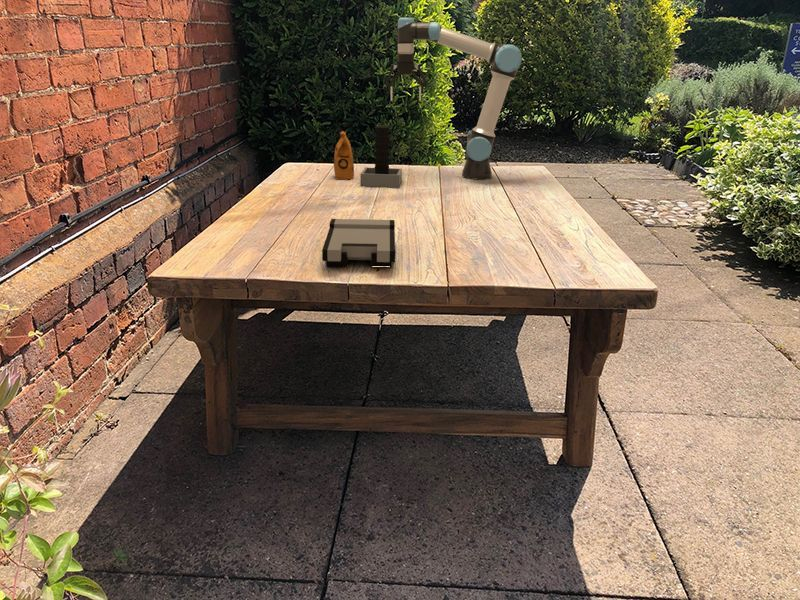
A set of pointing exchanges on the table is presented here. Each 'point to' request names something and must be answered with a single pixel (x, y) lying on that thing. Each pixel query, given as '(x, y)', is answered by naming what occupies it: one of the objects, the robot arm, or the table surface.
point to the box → (381, 178)
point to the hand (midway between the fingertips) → (405, 100)
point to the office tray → (359, 242)
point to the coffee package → (343, 159)
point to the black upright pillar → (382, 149)
